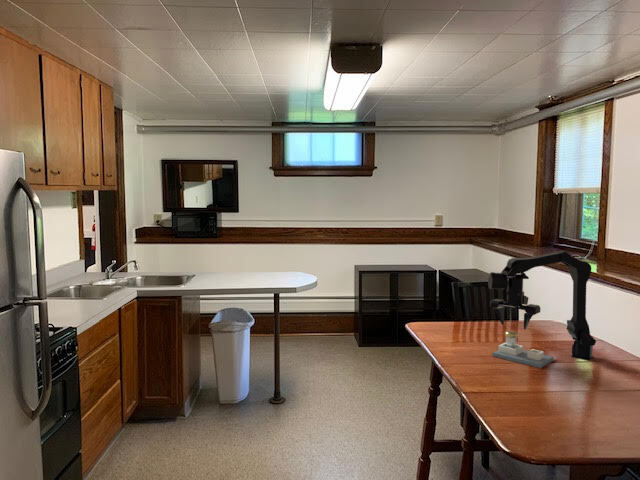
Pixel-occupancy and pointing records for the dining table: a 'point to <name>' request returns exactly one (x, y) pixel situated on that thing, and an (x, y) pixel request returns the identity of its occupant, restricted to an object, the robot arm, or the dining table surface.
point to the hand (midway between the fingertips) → (513, 326)
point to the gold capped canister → (511, 339)
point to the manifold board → (523, 355)
